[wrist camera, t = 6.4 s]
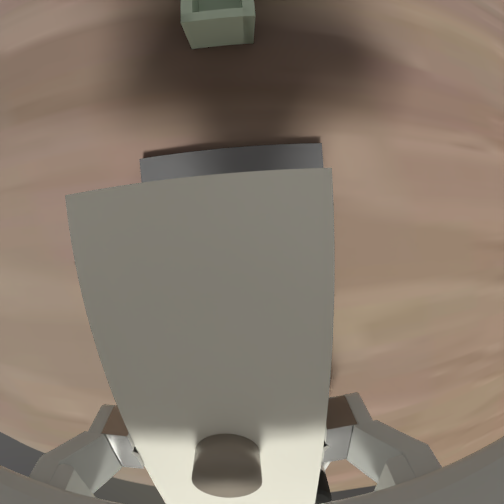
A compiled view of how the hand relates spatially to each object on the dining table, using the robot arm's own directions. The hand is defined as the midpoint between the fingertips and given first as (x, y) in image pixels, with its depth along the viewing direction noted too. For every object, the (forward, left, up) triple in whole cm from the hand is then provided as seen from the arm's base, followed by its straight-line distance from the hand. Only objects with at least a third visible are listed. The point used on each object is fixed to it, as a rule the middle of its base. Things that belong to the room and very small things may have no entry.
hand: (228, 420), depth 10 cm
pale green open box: (0, +26, -16) cm, 31 cm away
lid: (0, 0, -1) cm, 1 cm away
